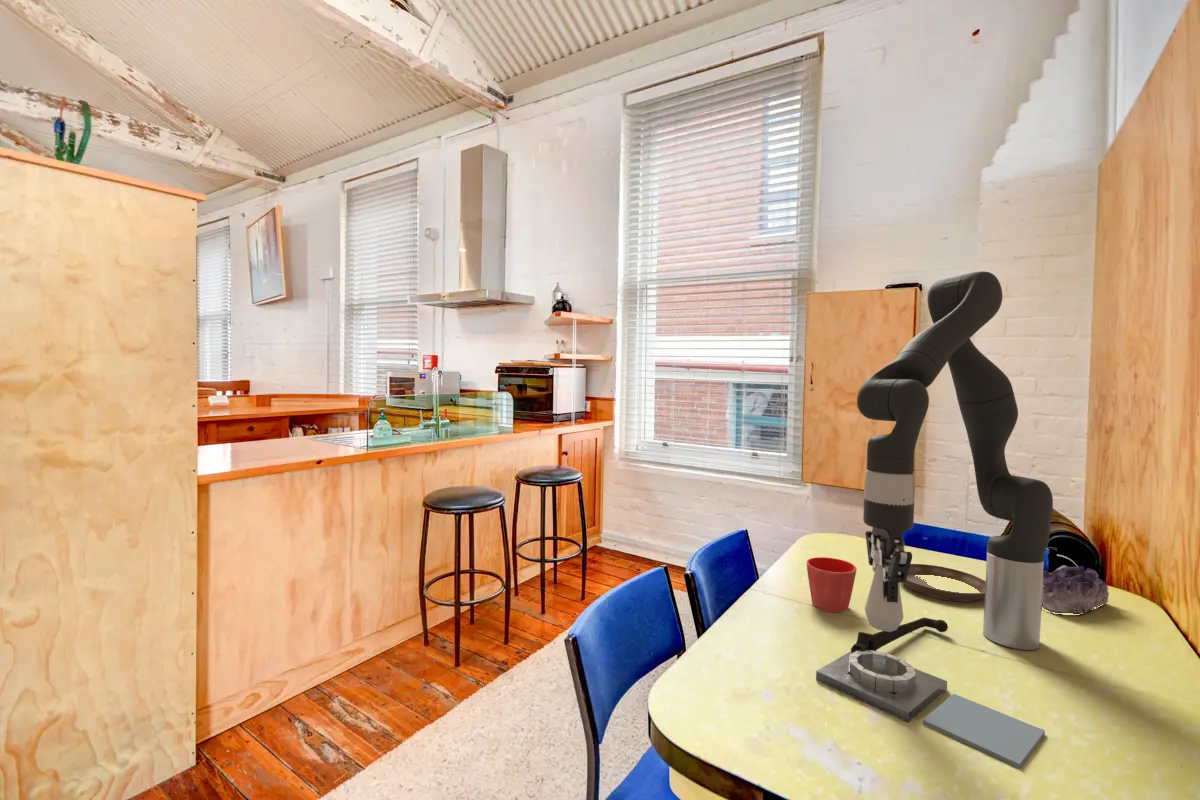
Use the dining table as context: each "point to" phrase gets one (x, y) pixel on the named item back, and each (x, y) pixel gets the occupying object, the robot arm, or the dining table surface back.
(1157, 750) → the dining table surface
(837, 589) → the flower pot
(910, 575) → the plant saucer
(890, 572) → the robot arm
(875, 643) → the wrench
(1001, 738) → the rubber mat
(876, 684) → the eye plate
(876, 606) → the salt shaker
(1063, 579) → the geode
